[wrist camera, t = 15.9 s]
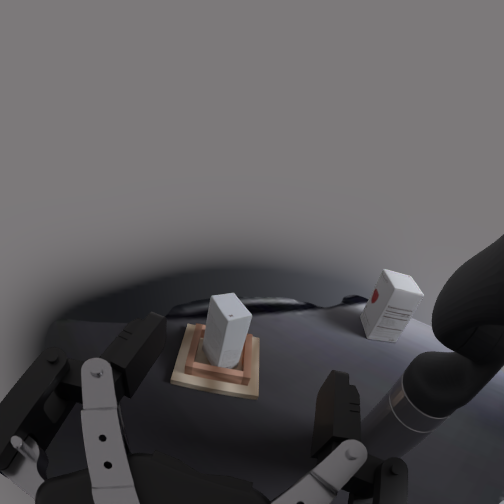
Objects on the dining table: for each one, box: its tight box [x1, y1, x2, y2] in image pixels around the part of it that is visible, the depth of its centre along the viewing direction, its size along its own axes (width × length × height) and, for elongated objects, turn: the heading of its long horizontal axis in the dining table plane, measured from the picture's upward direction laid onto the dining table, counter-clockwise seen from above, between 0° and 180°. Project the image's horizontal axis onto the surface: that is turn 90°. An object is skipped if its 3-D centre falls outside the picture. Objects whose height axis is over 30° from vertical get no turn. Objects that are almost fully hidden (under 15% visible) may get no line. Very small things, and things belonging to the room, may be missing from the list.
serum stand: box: [171, 323, 259, 400], centre depth 47 cm, size 14×14×3 cm
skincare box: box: [202, 293, 252, 369], centre depth 44 cm, size 6×4×12 cm
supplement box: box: [360, 269, 424, 343], centre depth 62 cm, size 9×9×15 cm
